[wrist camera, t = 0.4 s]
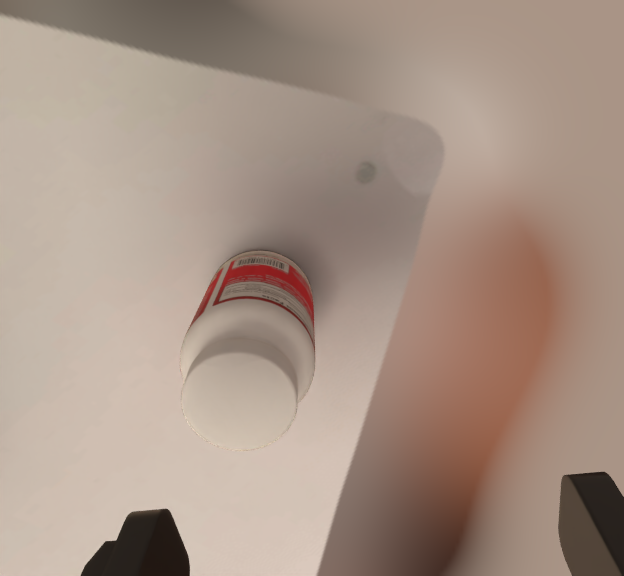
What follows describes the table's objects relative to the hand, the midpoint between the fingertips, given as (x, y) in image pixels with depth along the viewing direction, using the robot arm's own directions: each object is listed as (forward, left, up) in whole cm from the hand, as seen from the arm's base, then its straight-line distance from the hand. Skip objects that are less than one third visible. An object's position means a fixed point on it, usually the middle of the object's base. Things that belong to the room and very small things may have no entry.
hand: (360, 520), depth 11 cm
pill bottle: (-1, -5, -20) cm, 21 cm away
